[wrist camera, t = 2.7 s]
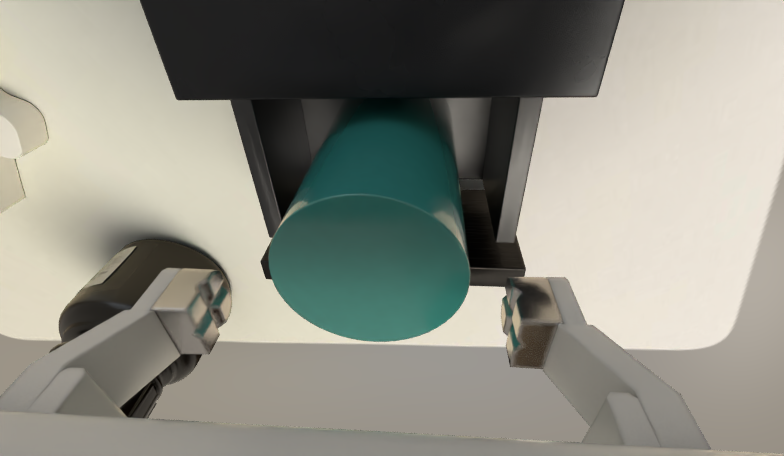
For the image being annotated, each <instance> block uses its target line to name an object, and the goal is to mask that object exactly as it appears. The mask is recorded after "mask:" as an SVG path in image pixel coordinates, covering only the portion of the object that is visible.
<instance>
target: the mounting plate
mask: <svg viewBox="0 0 784 456" xmlns="http://www.w3.org/2000/svg"><path fill="white" fill-rule="evenodd" d="M47 140H48V135H47V130H46V125H45V121H44V118H43V116H42V114H41V113H40V112H39V111H38V109H37V108H35V107H34V106H33V105H32V104H30V103H29V102H26V101H24V100H22V99H19V98H16V97H13V96H11V95H8V94H7V93H5V92H4V91H3V90H1V89H0V213H2V212H4V211H5V210H7V209H8V208H10V207H11V206H13V205H14V204H16V203H18V202H19V201H21V200H22V199H24V198H25V195H24V191H23V188H22V184H21V181H20V177H19V174H18V170H17V166H16V163H15V159H17V158H20V157H22V156H24V155H25V154H27V153H29V152H31V151H33V150H35V149H37V148H38V147H40V146H42V145H44V144H45V143H46V142H47Z"/></svg>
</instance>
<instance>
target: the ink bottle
mask: <svg viewBox="0 0 784 456" xmlns="http://www.w3.org/2000/svg"><path fill="white" fill-rule="evenodd" d="M166 268H180V269H184V268H188V269H209V270H218V271H221V270H220V269H219V267H218V266H217V265H216V264H215V263H214V262H213V261H211V260H210V259H209V258H207V257H206V256H205V255H203V254H201V253H200V252H198V251H196V250H194V249H191V248H189V247H187V246H184V245H181V244H178V243H174V242H170V241H165V240H156V239H146V240H139V241H135V242H132V243H130V244H128V245H127V246H125V247H124V248H123V249H122V250H121V251H119V253H117V254H116V255H115V256H114V257H113V258H112V259H111V260H110V261H109V262H108V263H107V264H106V265H105V266H104V267H103V268H102V269H101V270H100V271H99V272H98V273H97V274H96V275H95V276H94V277H93V278H92V279H91V280H90V281H89V282H88V284H86V285H85V286H84V287H83V288H82V289H81V290H80V291H79V292H78V293H77V295H76V296H75V297H74V298H73V299H72V300H71V302H70V303H69V304H68V305H67V306H66V307H65V309H64V310H63V312H62V313H61V316H60V319H59V333H60V336H61V339H62V343H61V344H58V345H57V346H55V347H54V348H53V349H51V351H50V352H52V351H54V350H56V349H57V348H59V347H61V346H63V345H64V344H66V343H68V342H70V341H71V340H73V339H75V338H77V337H78V336H80V335H82V334H84V333H85V332H87V331H89V330H91V329H92V328H94V327H96V326H98V325H99V324H101V323H103V322H105V321H106V320H108V319H110V318H112V317H113V316H115V315H117V314H119V313H120V312H122V311H124V310H131V309H132V307H133V306H134V305H135V304H136V302H137V301H138V300H139V299H140V297H141V296H142V295H143V294H144V292H145V291H146V290H147V289H148V287H149V286H150V285H151V284H152V282H153V281H154V280H155V279H156V277H157V276H158V275H159V274H160V272H161V271H162V270H164V269H166ZM221 273H222V271H221ZM222 275H223V278H224V281H223V283H222V286H224V287H225V288H226V289H227V290H229V292H230V287H229V284H228V282H227V279H226V277H225V276H224V274H223V273H222ZM230 295H231V294H230ZM50 352H49V353H50ZM201 356H202V354H180V356H179V357H178V358H177V359H176V360H175V361H174V362H172V363H171V364H170V365H169V366H168V367H167V368H165V369H164V370H163V371H162V372H161V373H160V374H158V375H157V376H156V377H155V378H154V379H153V380H151V381H150V382H149V383H148V384H147V385H146V386H144V387H143V388H142V389H141V390H140V391H139V392H137V393H136V394H135V395H134V396H133V397H132V398H130V399H129V400H128V401H127V402H126V403H125V404H123V405H122V406H121V407H120V409H121V410H122V412H123V413H124V414H125V415H126V416H127V417H128V418H146V419H148V417H149V415H150V414H151V412H152V410H153V409H154V407H155V405H156V401H157V400H158V399H159V397H160V396H161V394H162V389H163V387H164V386H166V385H169V384H173V383H175V382H177V381H180V380H182V379H184V378H185V377H187V376H188V375H189V374H190V373H191V372H192V371H193V369H194V368H195V366H196V365H197V363H198V361H199V359H200V358H201Z"/></svg>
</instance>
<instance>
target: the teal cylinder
mask: <svg viewBox="0 0 784 456" xmlns="http://www.w3.org/2000/svg"><path fill="white" fill-rule="evenodd" d="M268 258H269V269H270V274H271V278H272V280H273V283H274V285H275V287H276V289H277V290H278V292H279V294H280V295H281V297H282V298H283V299H284V301H285V302H286V303H287V304H288V305H289V306H290V307H291V308H292V309H293V310H294V311H295V312H296V313H298V314H299V315H300V316H301V317H303V318H304V319H306V320H307V321H309V322H310V323H312V324H314V325H316V326H317V327H319V328H321V329H324V330H326V331H328V332H331V333H334V334H337V335H339V336H343V337H347V338H351V339H356V340H362V341H373V342H387V341H398V340H404V339H409V338H413V337H417V336H420V335H422V334H425V333H428V332H430V331H432V330H434V329H436V328H437V327H439V326H440V325H442V324H443V323H445V322H446V321H447V320H448V319H450V318H451V317H452V316H453V315H454V314H455V313H456V311H457V310H458V309H459V308H460V306H461V305H462V303H463V301H464V300H465V297H466V295H467V292H468V289H469V284H470V265H469V257H468V248H467V240H466V231H465V223H464V215H463V206H462V198H461V189H460V181H459V172H458V164H457V155H456V147H455V138H454V130H453V122H452V115H451V111H450V107H449V105H448V103H447V100H446V99H445V98H411V99H344V101H343V103H342V105H341V107H340V109H339V111H338V113H337V115H336V117H335V119H334V121H333V122H332V124H331V126H330V128H329V130H328V132H327V134H326V136H325V138H324V140H323V142H322V144H321V146H320V148H319V149H318V151H317V153H316V155H315V157H314V159H313V161H312V163H311V165H310V167H309V169H308V171H307V173H306V175H305V176H304V178H303V180H302V182H301V184H300V186H299V188H298V190H297V192H296V194H295V196H294V198H293V200H292V202H291V203H290V205H289V207H288V209H287V211H286V213H285V215H284V217H283V219H282V221H281V223H280V225H279V227H278V229H277V230H276V232H275V234H274V236H273V239H272V242H271V245H270V249H269V256H268Z"/></svg>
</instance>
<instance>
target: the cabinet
mask: <svg viewBox="0 0 784 456" xmlns="http://www.w3.org/2000/svg"><path fill="white" fill-rule="evenodd" d="M624 1H625V0H140V2H141V5H142V8H143V10H144V13H145V16H146V19H147V21H148V24H149V27H150V29H151V32H152V35H153V37H154V40H155V43H156V46H157V48H158V51H159V54H160V56H161V59H162V62H163V64H164V67H165V70H166V73H167V75H168V78H169V81H170V83H171V86H172V89H173V91H174V94H175V97H176V99H177V100H276V99H411V98H546V97H597V95H598V92H599V89H600V85H601V82H602V78H603V75H604V71H605V68H606V64H607V61H608V57H609V54H610V50H611V47H612V43H613V40H614V36H615V33H616V29H617V26H618V22H619V19H620V15H621V12H622V8H623V5H624Z"/></svg>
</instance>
